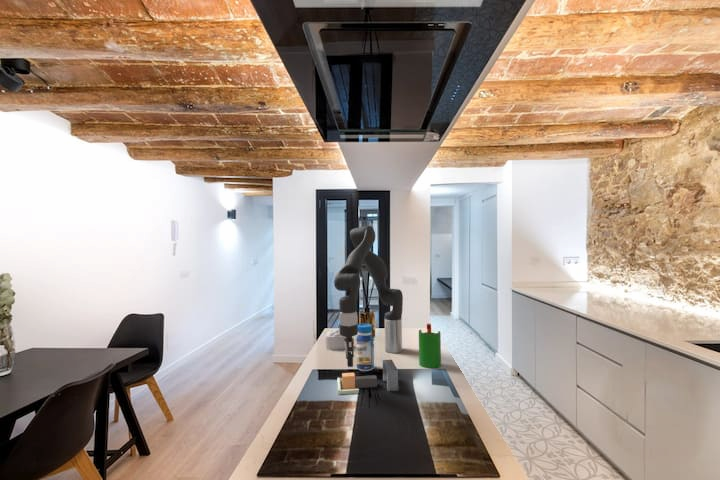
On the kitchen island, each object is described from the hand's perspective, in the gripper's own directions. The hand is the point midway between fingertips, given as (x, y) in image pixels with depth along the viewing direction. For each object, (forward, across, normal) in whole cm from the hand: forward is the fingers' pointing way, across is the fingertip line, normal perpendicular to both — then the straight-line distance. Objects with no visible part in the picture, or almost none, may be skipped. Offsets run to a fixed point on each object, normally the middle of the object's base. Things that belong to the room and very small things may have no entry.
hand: (349, 362), depth 133 cm
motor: (+11, -19, +40) cm, 45 cm away
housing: (+10, 0, +16) cm, 19 cm away
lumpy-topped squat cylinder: (+11, -53, -3) cm, 54 cm away
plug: (+10, 0, +4) cm, 11 cm away
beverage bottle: (+10, -19, +9) cm, 23 cm away
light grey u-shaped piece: (+10, 0, 0) cm, 10 cm away
